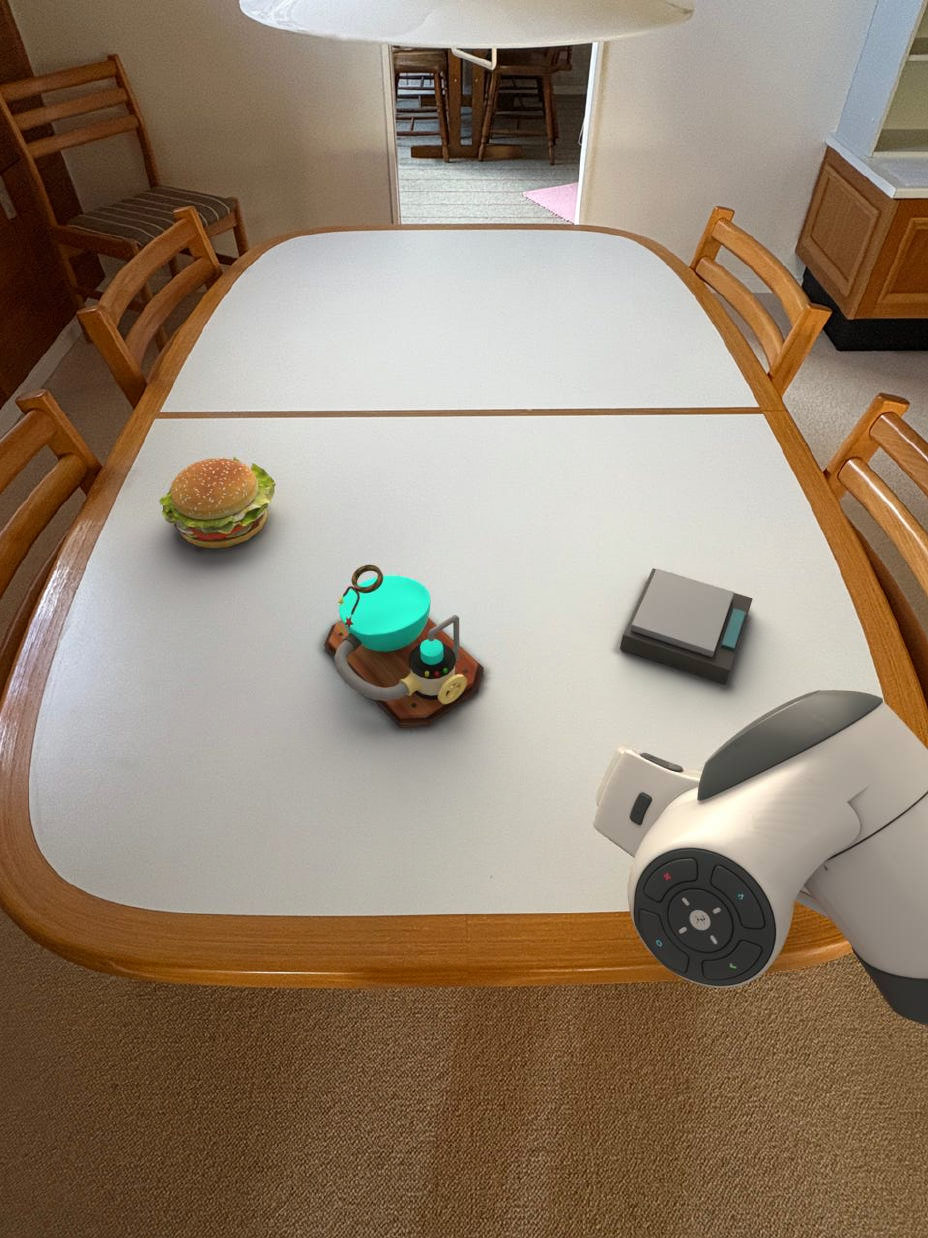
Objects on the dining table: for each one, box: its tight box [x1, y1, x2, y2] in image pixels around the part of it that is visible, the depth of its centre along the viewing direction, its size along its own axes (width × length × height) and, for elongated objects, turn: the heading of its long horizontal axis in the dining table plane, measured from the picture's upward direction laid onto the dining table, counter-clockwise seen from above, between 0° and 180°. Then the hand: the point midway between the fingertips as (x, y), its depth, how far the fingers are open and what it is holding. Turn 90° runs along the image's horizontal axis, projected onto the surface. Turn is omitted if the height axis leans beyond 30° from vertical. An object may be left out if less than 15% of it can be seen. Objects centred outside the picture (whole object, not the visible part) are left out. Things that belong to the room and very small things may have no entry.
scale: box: [619, 567, 754, 685], centre depth 90 cm, size 12×12×4 cm
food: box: [158, 456, 276, 549], centre depth 101 cm, size 14×14×8 cm
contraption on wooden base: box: [323, 564, 485, 728], centre depth 82 cm, size 14×18×15 cm
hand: (735, 807), depth 66 cm, fingers closed on can, 7 cm apart
